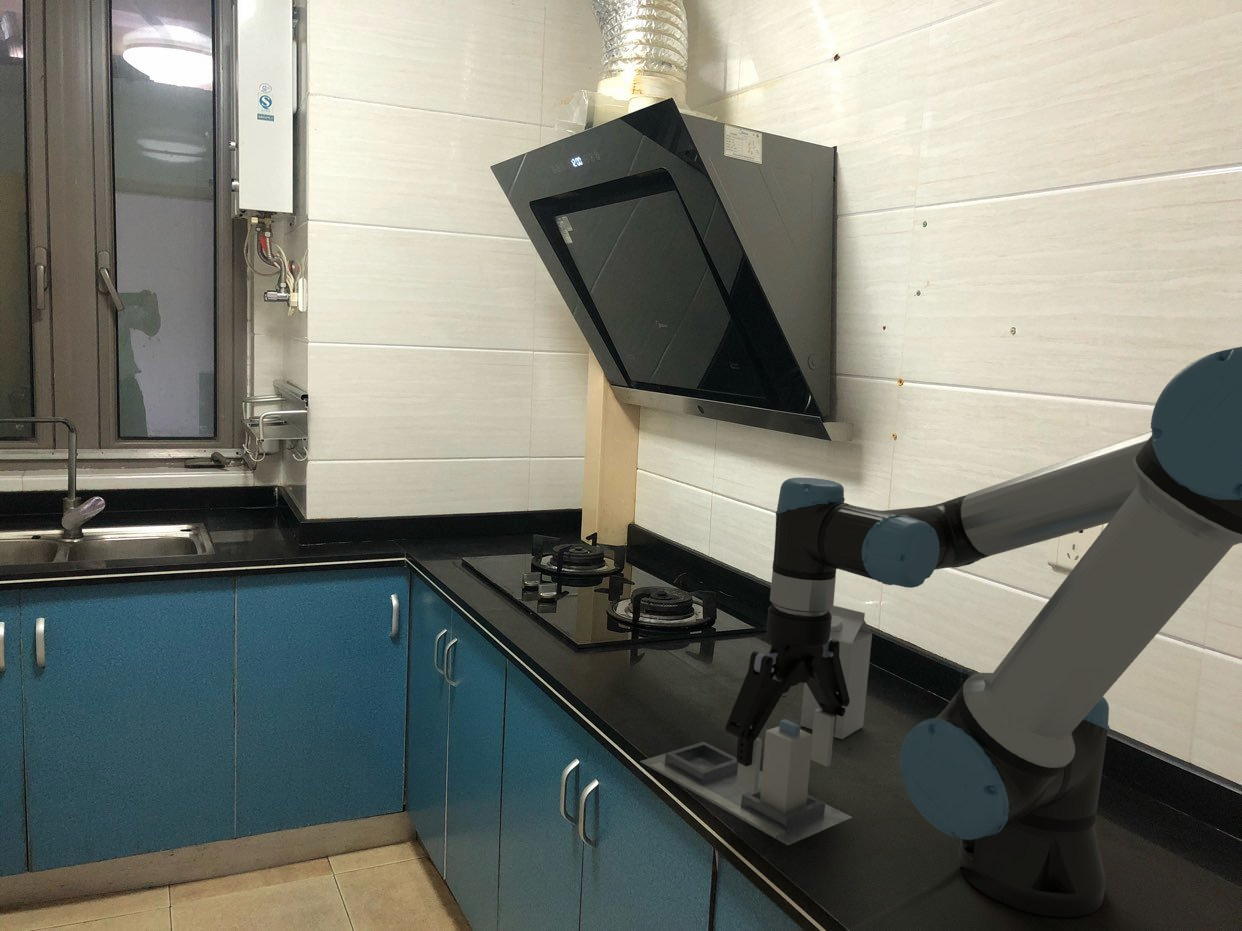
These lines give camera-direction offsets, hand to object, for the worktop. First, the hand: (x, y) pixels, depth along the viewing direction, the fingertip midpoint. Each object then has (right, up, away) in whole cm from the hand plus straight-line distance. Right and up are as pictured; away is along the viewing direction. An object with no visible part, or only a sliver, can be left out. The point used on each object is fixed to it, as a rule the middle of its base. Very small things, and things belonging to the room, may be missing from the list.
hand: (784, 775), depth 118 cm
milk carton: (+12, -3, +31) cm, 33 cm away
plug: (0, -4, 0) cm, 5 cm away
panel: (-5, -4, +6) cm, 9 cm away
